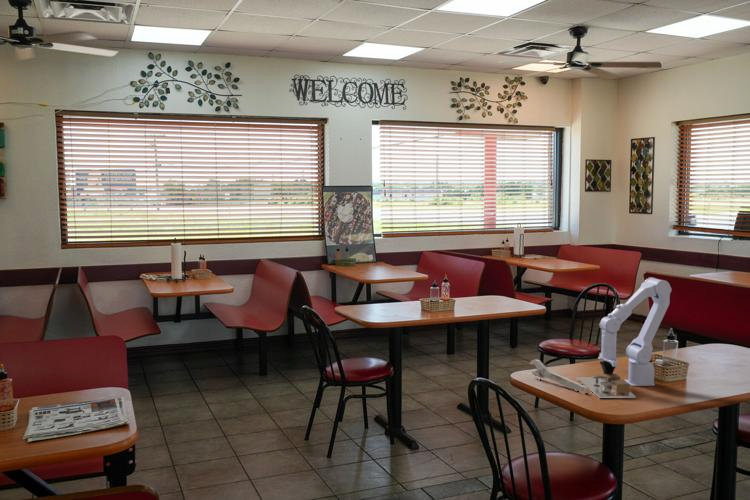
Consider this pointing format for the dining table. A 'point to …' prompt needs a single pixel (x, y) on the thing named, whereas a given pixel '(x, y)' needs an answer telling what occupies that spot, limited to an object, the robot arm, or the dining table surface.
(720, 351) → the dining table surface
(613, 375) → the slider
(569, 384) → the wrench
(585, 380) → the gauge plate
